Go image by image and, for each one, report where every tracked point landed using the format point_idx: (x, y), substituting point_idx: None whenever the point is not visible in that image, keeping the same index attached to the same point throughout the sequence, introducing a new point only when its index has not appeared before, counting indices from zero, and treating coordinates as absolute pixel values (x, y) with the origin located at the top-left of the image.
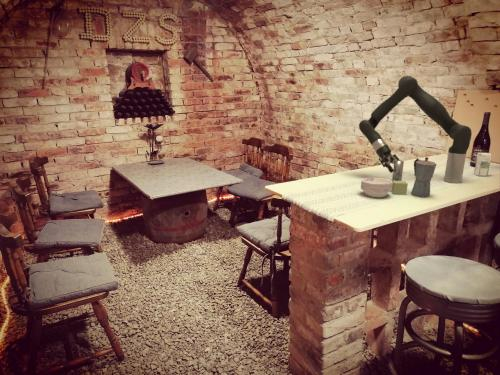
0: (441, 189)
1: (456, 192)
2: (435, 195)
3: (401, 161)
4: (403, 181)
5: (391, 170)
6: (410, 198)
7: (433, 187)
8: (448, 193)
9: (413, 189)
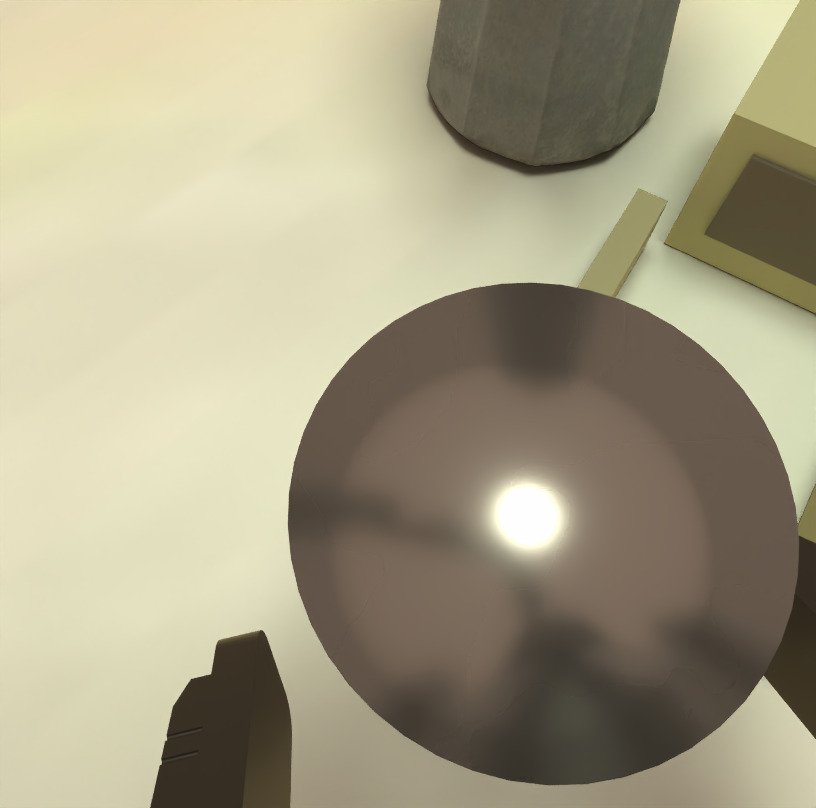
0: (29, 166)
1: (10, 28)
2: (373, 22)
3: (506, 361)
4: (783, 103)
5: (807, 548)
6: (776, 28)
7: (18, 271)
8: (143, 29)
9: (669, 40)
